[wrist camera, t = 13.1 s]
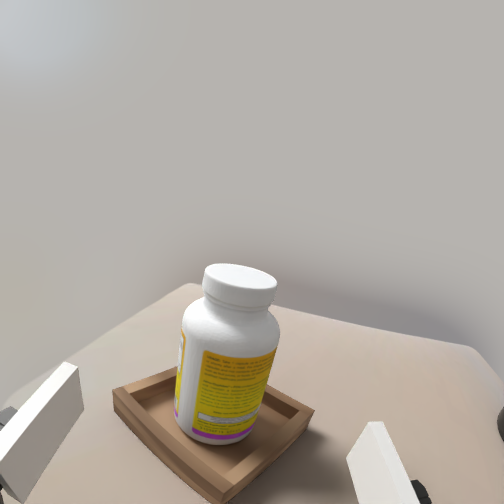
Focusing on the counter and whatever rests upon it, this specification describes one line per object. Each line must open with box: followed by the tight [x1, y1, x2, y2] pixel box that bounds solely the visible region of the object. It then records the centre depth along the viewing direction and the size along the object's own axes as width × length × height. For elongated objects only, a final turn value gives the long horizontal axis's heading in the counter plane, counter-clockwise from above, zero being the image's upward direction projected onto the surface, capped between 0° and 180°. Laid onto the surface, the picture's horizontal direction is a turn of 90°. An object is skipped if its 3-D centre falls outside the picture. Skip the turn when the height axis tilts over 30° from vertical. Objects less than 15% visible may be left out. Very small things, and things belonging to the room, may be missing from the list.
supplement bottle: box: [174, 264, 280, 445], centre depth 20 cm, size 7×7×13 cm
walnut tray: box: [112, 366, 315, 504], centre depth 22 cm, size 12×12×2 cm
